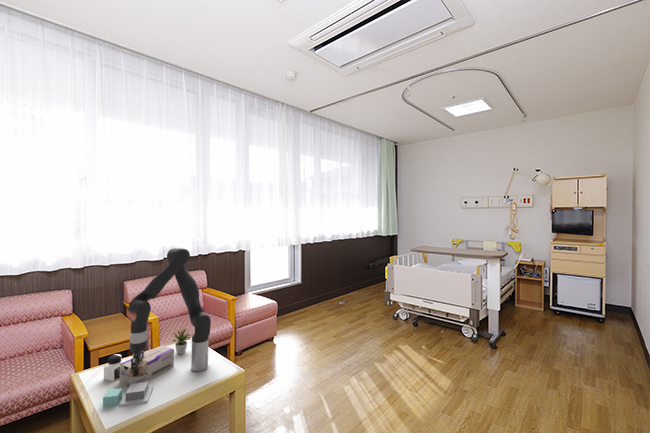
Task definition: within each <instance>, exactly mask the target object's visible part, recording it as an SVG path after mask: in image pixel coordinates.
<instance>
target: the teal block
mask: <svg viewBox="0 0 650 433" xmlns="http://www.w3.org/2000/svg"><path fill="white" fill-rule="evenodd" d="M122 399H123V388H114V389H108V390H107V391H106V392H105V394H104V396H103V397H102V408H110V407H117V406H118V405H119V404H120V402H121V401H122Z"/></svg>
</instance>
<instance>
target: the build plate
mask: <svg viewBox="0 0 650 433" xmlns="http://www.w3.org/2000/svg"><path fill="white" fill-rule="evenodd" d="M154 389H155V387H154V386H149V381H145V382H142V383H133V384H131V385H130V386H129V387H128V388H127V389H126V392H125V394H124V395H123V396H122V399H121V400H120V402H119V404H118V405H119V407H125V406H133V405H140V404H148V403H147V402H149V400H150V399H151V395H152V393H153V391H154Z"/></svg>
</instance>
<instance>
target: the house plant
mask: <svg viewBox="0 0 650 433" xmlns="http://www.w3.org/2000/svg"><path fill="white" fill-rule="evenodd" d="M186 327H187V326H185V327H183V328H182V327H181V328H180V331H179V330H178V329H177V330H176V331H173V332H172V334H173V335H174V336H173V337H174V338H176V339H177V340H176V339H173V340H172V343H175V342H176V343H175V344H174V345H175V350H176V354H177V355H183V354H185V353H186V351H187V345H188V342H187V340H190V341H192V336H191V334H189V333H190V332H191V329H190V330H188V328H186ZM187 330H188V331H187ZM186 331H187V332H186ZM176 332H177V333H176Z"/></svg>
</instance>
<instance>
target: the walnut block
mask: <svg viewBox="0 0 650 433" xmlns="http://www.w3.org/2000/svg"><path fill="white" fill-rule="evenodd" d="M138 362H139V361H138ZM134 367H135V366H134ZM146 370H147V360H146V361H141V362H140V364H139V370H138V376H135V377H141V376H144V374H145V372H146ZM132 377H134V376H133V370H131V367H130V378H132Z"/></svg>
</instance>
